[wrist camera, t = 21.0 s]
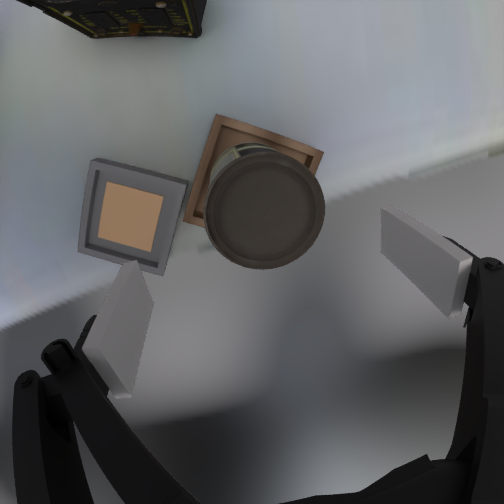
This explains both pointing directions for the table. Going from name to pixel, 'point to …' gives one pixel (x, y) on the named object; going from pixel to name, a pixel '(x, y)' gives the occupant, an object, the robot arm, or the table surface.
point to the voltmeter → (127, 16)
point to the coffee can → (262, 206)
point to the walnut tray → (232, 133)
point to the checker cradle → (130, 214)
